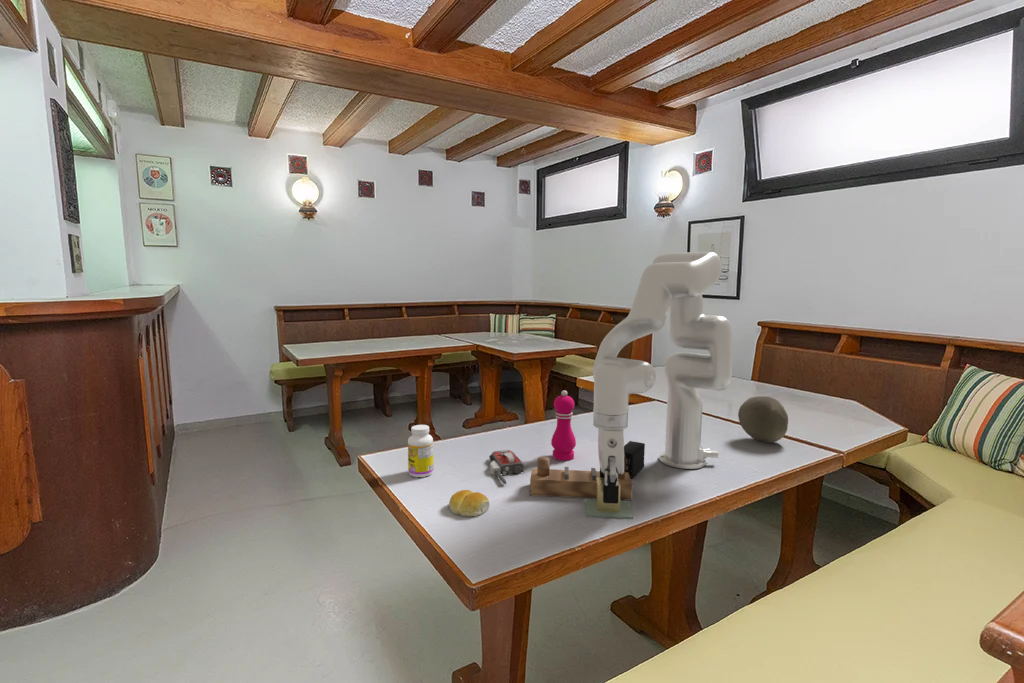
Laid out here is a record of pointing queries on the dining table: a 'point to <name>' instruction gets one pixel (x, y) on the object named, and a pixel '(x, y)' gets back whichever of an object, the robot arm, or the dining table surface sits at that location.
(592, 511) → the felt pad
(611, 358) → the robot arm
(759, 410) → the cantaloupe
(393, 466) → the dining table surface
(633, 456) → the digital camera
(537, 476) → the plane body
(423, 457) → the supplement bottle
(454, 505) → the bread roll
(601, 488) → the lever cap
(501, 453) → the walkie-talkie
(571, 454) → the pepper mill
